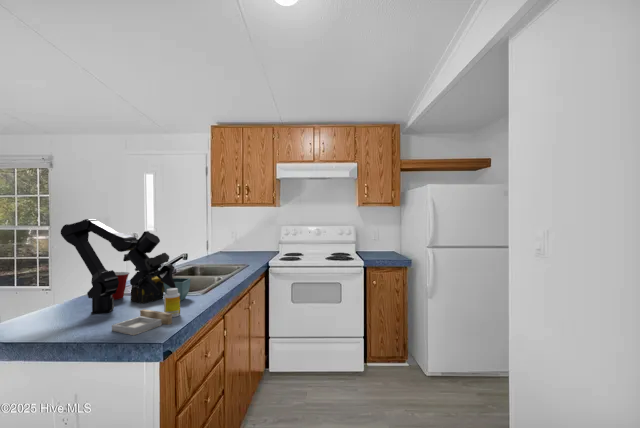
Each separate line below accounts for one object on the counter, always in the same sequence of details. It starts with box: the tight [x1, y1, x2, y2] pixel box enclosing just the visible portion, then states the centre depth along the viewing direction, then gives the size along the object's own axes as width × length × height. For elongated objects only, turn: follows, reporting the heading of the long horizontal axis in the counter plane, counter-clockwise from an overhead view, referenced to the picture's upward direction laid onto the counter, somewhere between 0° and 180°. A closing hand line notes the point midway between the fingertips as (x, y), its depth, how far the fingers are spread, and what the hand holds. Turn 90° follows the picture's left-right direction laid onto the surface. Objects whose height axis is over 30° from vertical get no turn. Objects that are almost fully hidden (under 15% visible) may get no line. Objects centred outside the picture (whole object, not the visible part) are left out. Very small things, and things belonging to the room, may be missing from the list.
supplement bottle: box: [163, 288, 181, 318], centre depth 127 cm, size 6×6×10 cm
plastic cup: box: [112, 271, 130, 301], centre depth 155 cm, size 11×11×12 cm
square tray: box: [111, 315, 162, 336], centre depth 114 cm, size 10×10×2 cm
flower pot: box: [163, 277, 192, 302], centre depth 151 cm, size 9×9×9 cm
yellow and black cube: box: [130, 276, 165, 304], centre depth 151 cm, size 10×10×10 cm
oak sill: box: [139, 309, 173, 325], centre depth 120 cm, size 14×2×4 cm, turn 67°
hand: (167, 290), depth 128 cm, fingers open, 9 cm apart
